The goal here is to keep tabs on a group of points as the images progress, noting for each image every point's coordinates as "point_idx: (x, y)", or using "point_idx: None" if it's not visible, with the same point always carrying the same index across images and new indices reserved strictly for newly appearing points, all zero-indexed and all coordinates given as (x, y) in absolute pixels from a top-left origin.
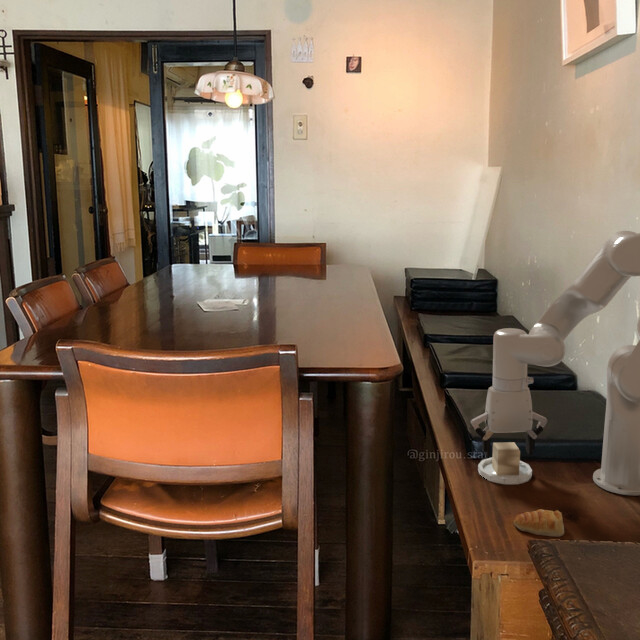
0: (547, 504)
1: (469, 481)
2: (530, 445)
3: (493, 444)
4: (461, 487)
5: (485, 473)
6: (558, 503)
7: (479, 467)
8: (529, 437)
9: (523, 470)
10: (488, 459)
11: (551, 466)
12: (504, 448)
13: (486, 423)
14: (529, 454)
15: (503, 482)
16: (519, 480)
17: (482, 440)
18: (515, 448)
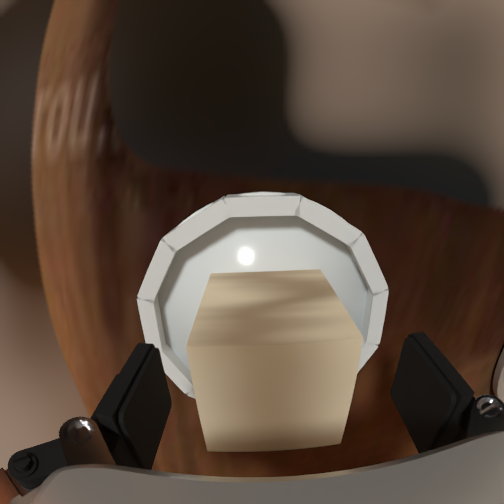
0: (328, 468)
1: (117, 371)
2: (413, 433)
3: (189, 357)
4: (98, 400)
5: (167, 372)
6: (357, 461)
7: (142, 325)
8: (438, 447)
9: (351, 314)
10: (196, 231)
11: (468, 241)
12: (254, 429)
13: (58, 471)
14: (392, 397)
15: None
16: None
17: (96, 416)
18: (327, 424)
